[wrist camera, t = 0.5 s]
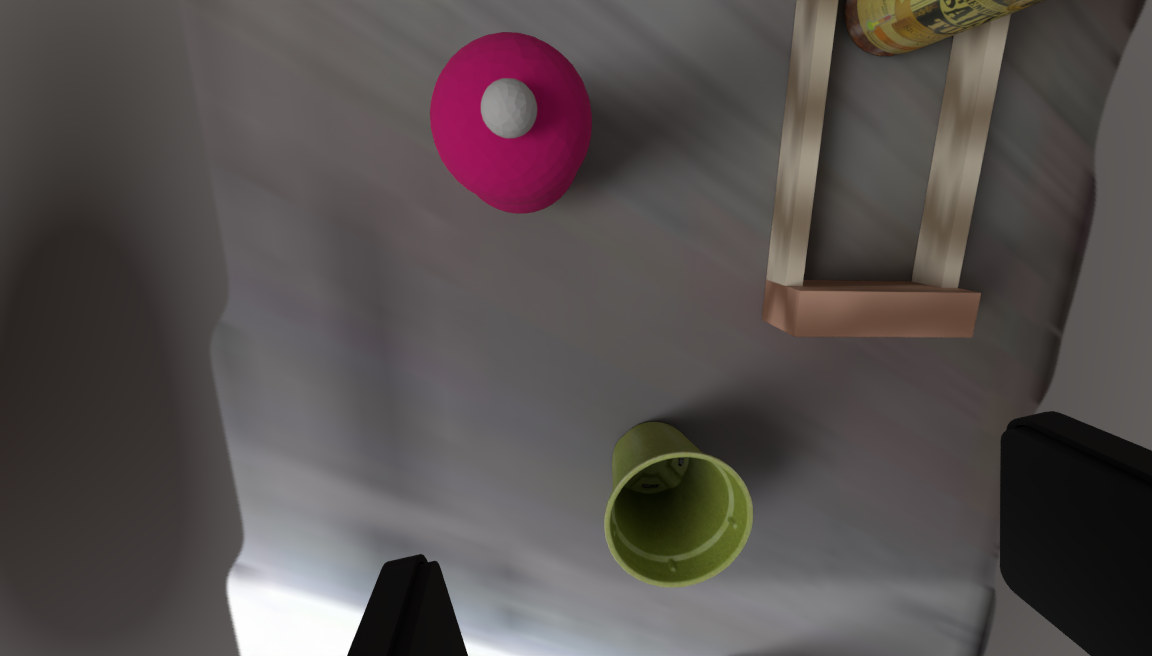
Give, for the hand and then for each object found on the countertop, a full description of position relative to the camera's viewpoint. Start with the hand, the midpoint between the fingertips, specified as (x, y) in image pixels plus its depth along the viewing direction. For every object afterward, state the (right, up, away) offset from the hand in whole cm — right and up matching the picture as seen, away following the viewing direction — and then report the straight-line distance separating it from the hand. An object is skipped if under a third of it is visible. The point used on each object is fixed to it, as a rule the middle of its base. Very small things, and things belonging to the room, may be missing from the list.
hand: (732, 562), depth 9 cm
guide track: (+18, +17, +28) cm, 37 cm away
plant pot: (+3, -6, +33) cm, 34 cm away
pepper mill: (-6, +15, +27) cm, 32 cm away
